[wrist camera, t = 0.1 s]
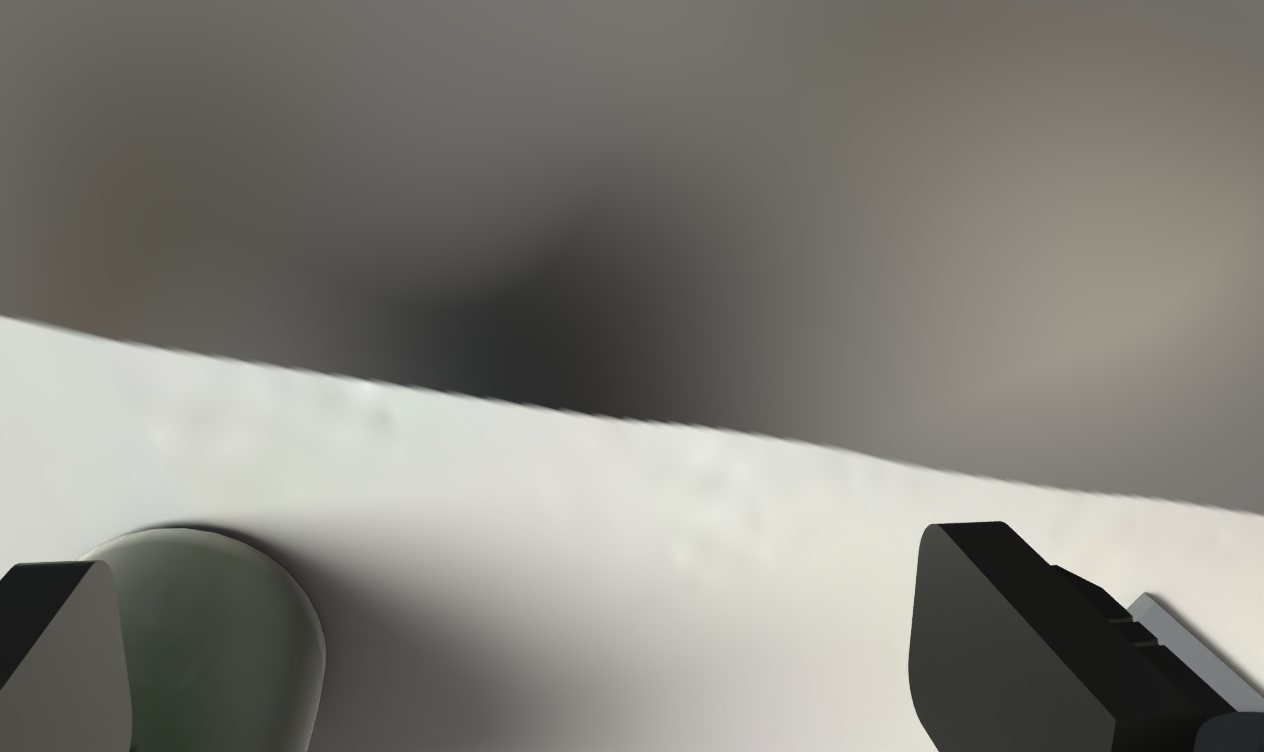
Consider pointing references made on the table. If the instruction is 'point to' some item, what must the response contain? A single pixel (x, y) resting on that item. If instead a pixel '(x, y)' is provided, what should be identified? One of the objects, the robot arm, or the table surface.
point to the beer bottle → (214, 644)
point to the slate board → (1196, 655)
